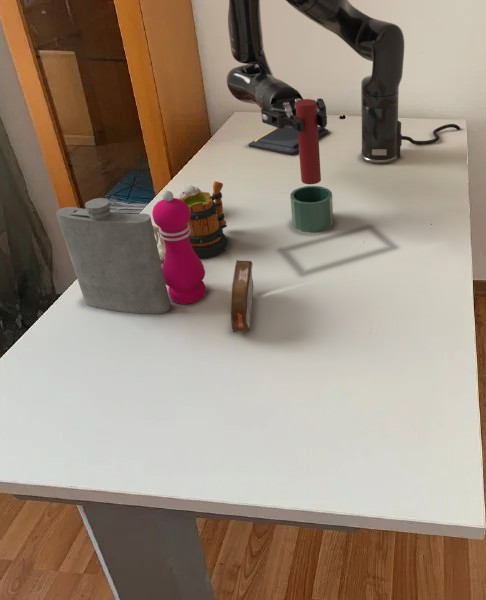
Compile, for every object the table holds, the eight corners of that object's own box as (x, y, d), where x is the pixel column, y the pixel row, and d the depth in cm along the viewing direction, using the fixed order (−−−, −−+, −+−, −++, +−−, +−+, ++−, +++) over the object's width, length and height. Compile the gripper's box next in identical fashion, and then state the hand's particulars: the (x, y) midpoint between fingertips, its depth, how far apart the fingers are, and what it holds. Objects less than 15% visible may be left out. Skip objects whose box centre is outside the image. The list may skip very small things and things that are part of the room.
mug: (208, 264, 120) (199, 210, 114) (167, 252, 124) (155, 199, 117) (248, 235, 130) (241, 183, 123) (208, 224, 134) (200, 174, 127)
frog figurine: (188, 225, 134) (182, 195, 130) (173, 213, 138) (167, 184, 134) (213, 216, 137) (208, 186, 133) (198, 205, 141) (192, 176, 137)
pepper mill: (216, 287, 114) (198, 185, 102) (193, 309, 108) (172, 203, 97) (182, 280, 116) (161, 179, 105) (158, 301, 110) (133, 197, 99)
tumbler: (322, 212, 138) (320, 182, 134) (340, 228, 132) (339, 197, 128) (286, 220, 135) (283, 191, 131) (303, 237, 129) (300, 207, 125)
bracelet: (128, 270, 119) (118, 233, 114) (158, 251, 124) (150, 215, 120) (143, 275, 117) (134, 238, 112) (173, 256, 123) (166, 220, 118)
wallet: (292, 149, 164) (245, 139, 170) (293, 156, 165) (246, 146, 171) (331, 125, 178) (286, 117, 184) (331, 132, 179) (287, 124, 185)
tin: (239, 290, 113) (234, 250, 108) (257, 290, 113) (252, 249, 108) (232, 343, 101) (225, 300, 96) (252, 342, 101) (246, 299, 96)
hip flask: (173, 303, 110) (150, 200, 98) (163, 317, 106) (138, 211, 95) (91, 294, 112) (59, 191, 101) (78, 307, 109) (44, 203, 97)
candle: (315, 174, 130) (310, 97, 121) (324, 181, 127) (319, 103, 118) (298, 178, 129) (291, 101, 119) (306, 186, 126) (300, 107, 116)
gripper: (310, 111, 136) (347, 136, 124) (248, 123, 130) (280, 151, 118) (308, 76, 131) (345, 98, 119) (243, 87, 126) (276, 111, 114)
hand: (313, 124), depth 119 cm, fingers closed on candle, 4 cm apart
